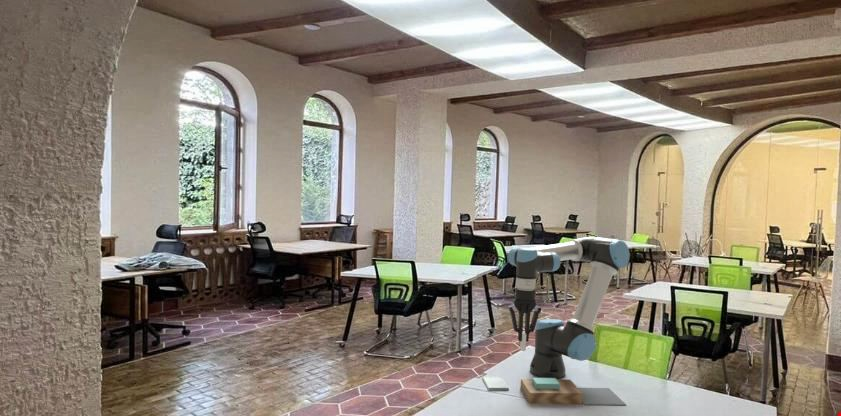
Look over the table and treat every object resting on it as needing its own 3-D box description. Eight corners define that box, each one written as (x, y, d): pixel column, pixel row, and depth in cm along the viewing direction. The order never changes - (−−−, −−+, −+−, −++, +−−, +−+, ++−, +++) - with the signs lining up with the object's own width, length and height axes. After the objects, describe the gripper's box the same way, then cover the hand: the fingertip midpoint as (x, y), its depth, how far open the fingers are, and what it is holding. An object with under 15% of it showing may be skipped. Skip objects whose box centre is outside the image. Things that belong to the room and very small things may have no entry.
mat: (584, 405, 198) (584, 404, 198) (569, 388, 214) (569, 387, 214) (626, 405, 199) (626, 404, 199) (608, 388, 215) (608, 387, 215)
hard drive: (509, 387, 210) (501, 376, 222) (488, 387, 209) (482, 376, 222) (508, 392, 210) (501, 380, 222) (488, 391, 209) (482, 380, 222)
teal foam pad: (536, 388, 202) (536, 383, 202) (532, 382, 208) (532, 377, 208) (559, 389, 202) (559, 383, 202) (554, 383, 208) (554, 378, 208)
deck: (529, 403, 198) (529, 392, 198) (520, 388, 212) (520, 378, 212) (582, 403, 199) (582, 393, 199) (569, 389, 213) (569, 379, 213)
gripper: (510, 290, 199) (508, 352, 200) (545, 291, 200) (542, 353, 201) (506, 286, 206) (503, 346, 207) (539, 287, 207) (536, 346, 208)
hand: (522, 349), depth 204 cm, fingers closed
